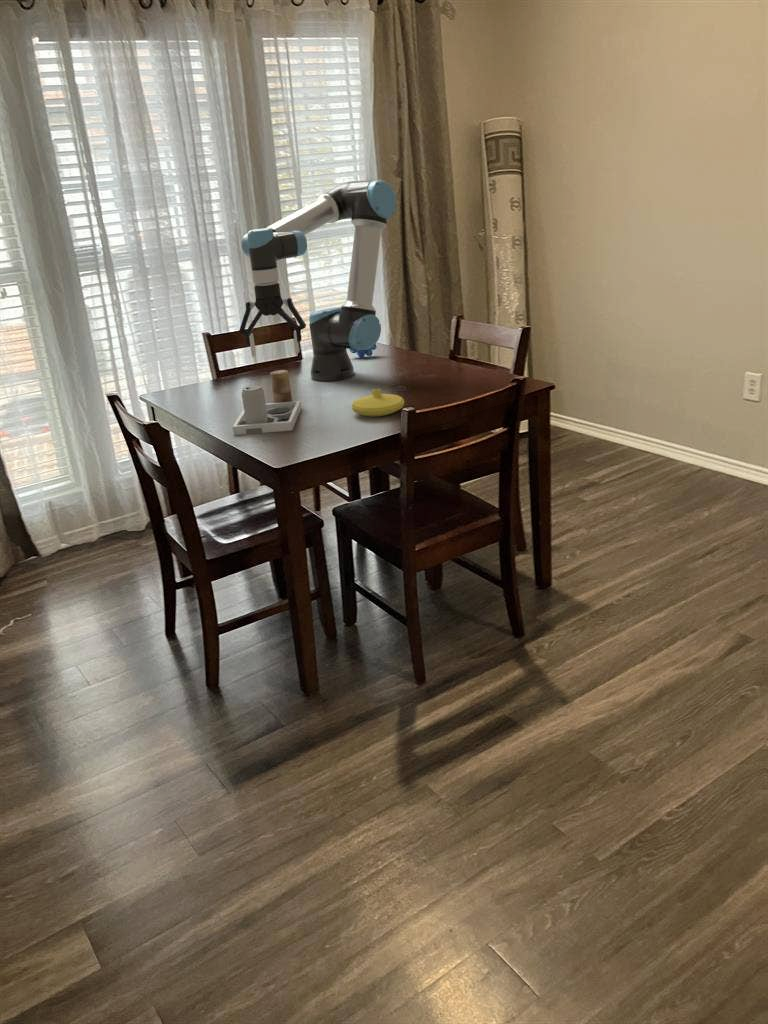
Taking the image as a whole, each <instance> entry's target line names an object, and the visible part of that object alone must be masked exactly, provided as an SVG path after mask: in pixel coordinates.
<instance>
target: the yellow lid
mask: <svg viewBox="0 0 768 1024" xmlns="http://www.w3.org/2000/svg"><path fill="white" fill-rule="evenodd" d="M404 406H405V400H404V398H403V397H402V396H400V395H397V394H391V393H382V391H381V389H380V388H374V389H373V390H372V394H371V395H365V396H361V397H359V398H357V399H355V400H354V401H353V403H352V404H351V409H352V411H353V412H354V413H355V414H359V415H361V416H363V417H364V416H365V417H383V416H389V415H391V414H394V413H396V412H397V411H399V410H401V409H402V408H403V407H404Z"/></svg>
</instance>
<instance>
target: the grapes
mask: <svg viewBox="0 0 768 1024" xmlns="http://www.w3.org/2000/svg"><path fill="white" fill-rule="evenodd" d="M375 350H377V343H376V344H375V345H373V347H372V348H370V349H368V350H354V349H349V352H350V353H351V354H356V355H357V357H359V358H365V356H367V357H372V355H373V354H374V353H373V351H375Z"/></svg>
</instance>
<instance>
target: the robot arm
mask: <svg viewBox="0 0 768 1024" xmlns="http://www.w3.org/2000/svg"><path fill="white" fill-rule="evenodd" d="M396 209H397V196H396V192H395V191H394V188H393V187H392V186H391V184H390V183H388V182H387V181H386V180H383V179H381V180H380V179H369V180H359V181H357V180H356V181H354V180H353V181H347V182H344V183H342V184H340V185H337V186H336V187H333V188H332V189H330V190H328V191H326V192H324V193H322V194H320V195H319V196H318V197H317V200H316V201H314V202H313V203H310V204H309V205H306V206H305V207H303V208H301V209H299V210H297V211H295V212H294V213H292V214H289V215H288V216H285V217H284V218H281V219H280V220H278V221H276V222H275V223H273V224H271V225H269V226H267V227H265V228H255V229H250V230H249V231H248V232H247V233H246V234H245V235H244V236H243V237H242V239H241V249H242V251H243V253H244V254H245V256H247V257H249V258H250V259H249V260H250V266H251V274H252V283H253V284H255V285H254V287H253V288H254V295H255V301H251V300H248V301H247V302H245V313H244V315H243V318H242V321H241V324H240V326H239V330H238V333H239V334H241V335H244V336H245V339H246V340H245V341H246V345H247V346H249V347H250V352H251V357H253V358H254V357H256V355H257V353H256V352H257V351H256V345H255V338H254V333H251V332H253V330H254V328H255V326H256V324H257V323H258V321H259V320H260V319H261V318H262V316H265V317H267V316H276V315H279V317H281V318H282V319H284V321H286V322H287V324H288V325H289V326H291V327H292V328H293V329H294V331H293V339H294V348H295V353H296V354H299V353H300V342H302V330H304V329H305V328H306V326H307V323H305V321H304V319H303V318H302V316H301V314H300V313H299V311H298V310H297V309H296V307H295V305H294V303H293V299H292V297H288V298H285V299H283V298H282V295H281V288H280V283H279V281H280V279H279V272H278V263H277V261H280V260H285V259H291V258H297V257H301V256H303V255H304V254H306V251H307V249H308V243H307V242H308V241H307V237H306V235H308V234H310V233H311V232H313V231H316V230H317V229H319V228H321V227H323V226H324V225H326V224H334V223H337V222H338V221H341V220H348V219H350V220H351V224H352V225H353V226H354V235H353V242H352V243H353V244H352V251H351V261H350V268H349V278H348V285H347V286H348V287H347V295H346V301H345V302H344V303H343V304H342V305H341V306H335V307H334V306H333V307H329V308H325V309H320V310H315V311H313V312H311V313H310V314H309V315H308V319H309V320H308V321H309V323H308V326H309V330H310V331H309V333H310V337H311V339H310V340H311V347H312V354H313V358H312V362H311V367H310V378H311V379H312V380H314V381H319V382H320V381H321V382H330V381H338V380H344V379H347V378H350V377H352V376H353V375H355V369H354V365H353V363H352V360H351V359H350V356H349V354H348V349H354V350H368V349H370V348H372V347H373V345H375V344H376V345H377V343H378V342H379V339H380V337H381V332H382V324H381V323H380V319H379V318H378V317H377V316H376V314H377V313H376V312H377V310H376V308H375V307H374V306H373V302H374V292H375V284H376V277H377V276H376V275H377V268H378V259H379V253H380V251H379V250H380V243H381V235H382V231H383V230H384V229H385V228H386V227H387V225H388V224H387V223H388V219H390V218H391V217H392V216H393V215H394V214H395V212H396ZM283 305H285V306H286V307H288V309H289V310H290V312H291V314H292V315H293V317H294V318H295V320H296V321H297V322H296V321H295V320H294V319H293V318H292V317H291V316H290V315H289V314H288V313H287V312H286V311H285V310H284V309H283V308H282V307H283ZM254 307H256V309H257V310H258V311H257V314H256V315H255V317H254V318H253V320H252V321H251V323H250V325H249V326H248V327H247V323H248V322H249V318H250V314H251V311H252V310H253V309H254ZM246 327H247V329H246Z"/></svg>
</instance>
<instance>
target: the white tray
mask: <svg viewBox="0 0 768 1024" xmlns="http://www.w3.org/2000/svg"><path fill="white" fill-rule="evenodd" d="M265 404H266V411H267V418H268V423H260V424H248V425H246V419H245V413H244V408H243V410H242V411H241V413H240V414H239V416H238V417H237V419H236V421H235V422H234V423H233V424H232V432H233V435H234V436H239V435H250V434H262V433H277V432H290V431H293V430H294V428H295V425H296V424H297V423H296V422H297V420H298V417H299V415H300V413H301V410H302V405H301V400H294V401H293V400H292V402H280V403H274V402H272V403H271V402H270V403H265ZM278 413H279V414H278ZM287 419H288V420H287ZM283 420H284V421H283ZM286 420H287V421H286Z"/></svg>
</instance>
